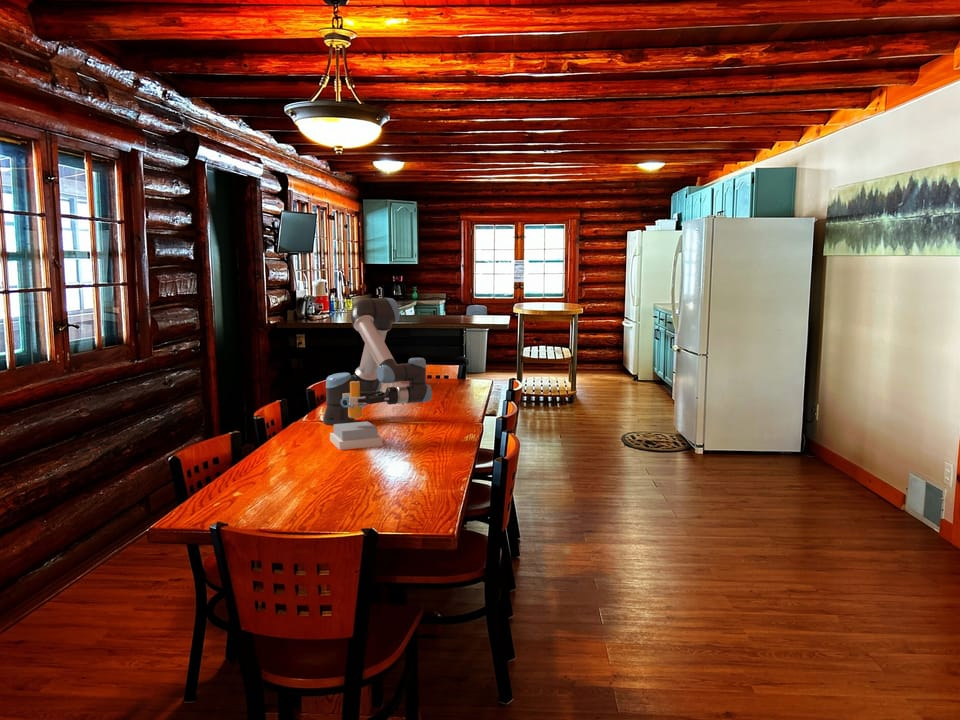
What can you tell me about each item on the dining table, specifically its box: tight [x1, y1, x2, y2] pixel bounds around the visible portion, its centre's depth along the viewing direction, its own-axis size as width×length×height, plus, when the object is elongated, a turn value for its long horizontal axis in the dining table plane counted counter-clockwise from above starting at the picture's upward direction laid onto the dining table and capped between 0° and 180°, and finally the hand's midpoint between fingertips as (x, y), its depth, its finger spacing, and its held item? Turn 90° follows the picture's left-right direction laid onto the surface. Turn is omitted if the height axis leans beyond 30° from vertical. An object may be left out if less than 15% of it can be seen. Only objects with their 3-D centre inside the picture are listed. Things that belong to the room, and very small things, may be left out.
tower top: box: [333, 421, 379, 441], centre depth 305 cm, size 15×15×4 cm
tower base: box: [329, 432, 383, 451], centre depth 306 cm, size 18×18×4 cm
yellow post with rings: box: [341, 381, 369, 419], centre depth 303 cm, size 12×10×15 cm
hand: (346, 398), depth 302 cm, fingers closed on yellow post with rings, 11 cm apart
